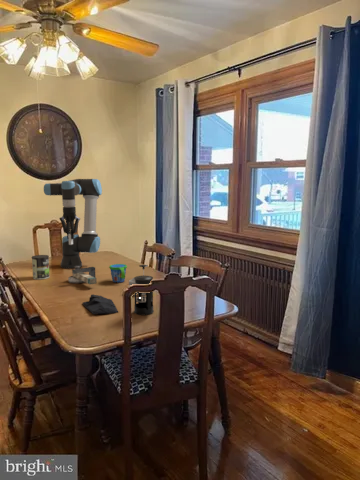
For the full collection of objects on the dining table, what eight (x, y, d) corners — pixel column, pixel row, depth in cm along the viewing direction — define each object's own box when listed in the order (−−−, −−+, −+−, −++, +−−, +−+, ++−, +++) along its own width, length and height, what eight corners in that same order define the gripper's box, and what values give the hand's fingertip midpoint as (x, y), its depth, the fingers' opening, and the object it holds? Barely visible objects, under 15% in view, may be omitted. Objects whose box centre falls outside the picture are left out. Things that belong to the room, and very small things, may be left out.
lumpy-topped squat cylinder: (153, 294, 209) (153, 279, 207) (130, 296, 204) (130, 280, 203) (149, 289, 218) (149, 274, 217) (127, 291, 214) (127, 276, 213)
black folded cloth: (87, 318, 172) (87, 308, 172) (81, 303, 193) (81, 294, 192) (120, 314, 178) (120, 304, 177) (111, 300, 198) (111, 291, 197)
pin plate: (79, 277, 242) (79, 274, 242) (90, 280, 235) (90, 277, 235) (64, 281, 234) (64, 277, 233) (75, 284, 227) (75, 280, 227)
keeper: (74, 285, 225) (74, 270, 224) (72, 284, 228) (72, 269, 226) (95, 281, 233) (95, 267, 232) (93, 280, 236) (93, 266, 234)
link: (71, 276, 235) (70, 266, 234) (80, 275, 238) (79, 265, 237) (88, 285, 215) (88, 274, 214) (98, 283, 219) (97, 272, 218)
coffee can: (52, 276, 247) (51, 255, 244) (44, 280, 237) (43, 258, 234) (38, 275, 249) (37, 254, 246) (29, 279, 239) (28, 257, 236)
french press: (130, 310, 182) (129, 263, 178) (148, 307, 186) (147, 261, 183) (140, 317, 172) (139, 268, 168) (158, 314, 176) (158, 266, 173)
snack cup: (106, 279, 239) (106, 263, 238) (122, 277, 244) (122, 262, 242) (113, 285, 225) (113, 268, 224) (130, 283, 230) (130, 267, 228)
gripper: (56, 206, 226) (58, 244, 231) (76, 207, 224) (77, 245, 228) (62, 205, 234) (64, 242, 238) (81, 206, 231) (83, 243, 235)
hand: (71, 244), depth 233 cm, fingers closed
